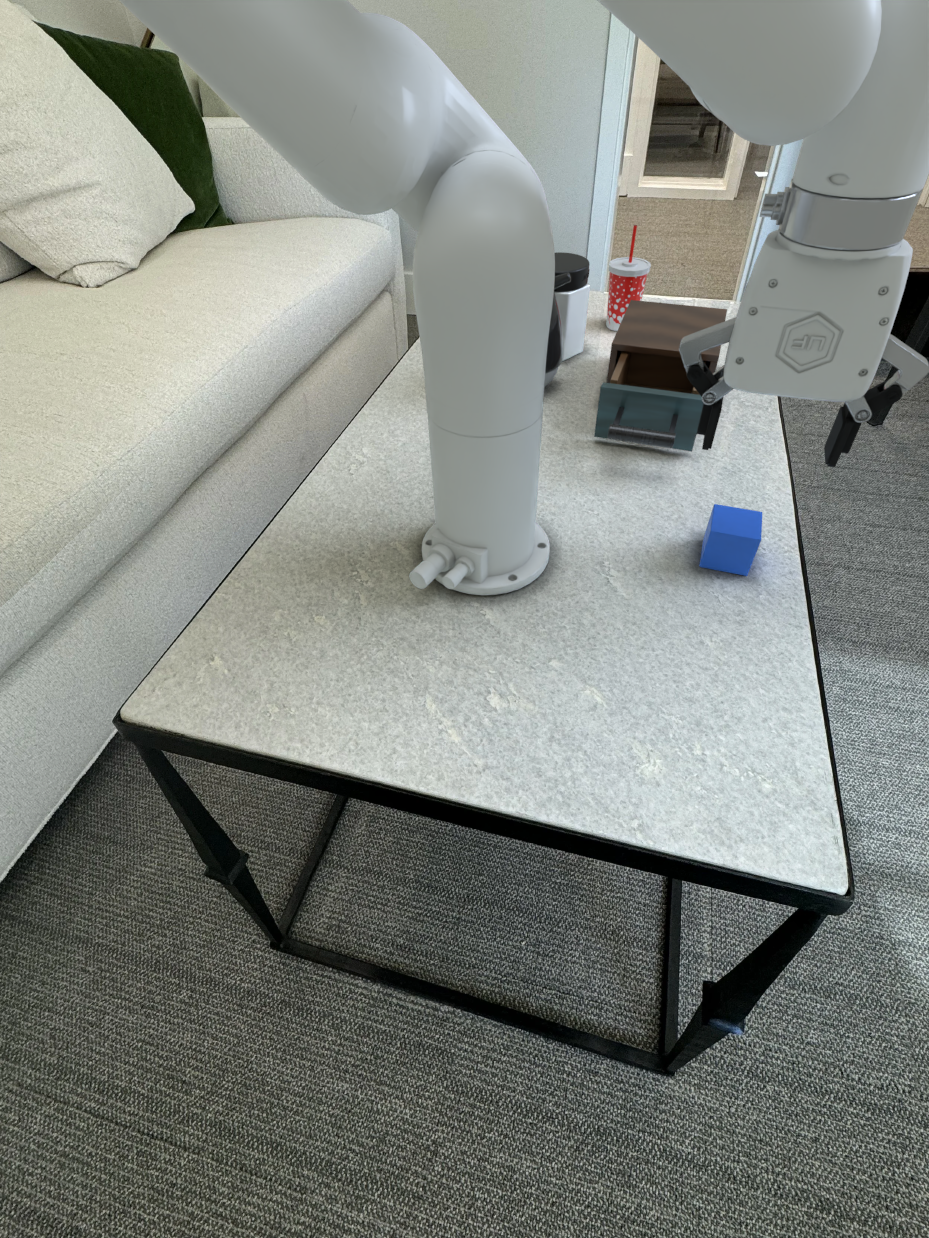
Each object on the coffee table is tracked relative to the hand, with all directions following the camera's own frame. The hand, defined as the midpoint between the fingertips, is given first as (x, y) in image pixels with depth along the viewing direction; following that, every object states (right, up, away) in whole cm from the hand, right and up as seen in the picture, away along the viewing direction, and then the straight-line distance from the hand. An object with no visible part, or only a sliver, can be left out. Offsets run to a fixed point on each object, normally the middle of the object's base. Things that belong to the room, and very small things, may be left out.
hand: (766, 449), depth 54 cm
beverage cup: (-1, +32, +48) cm, 57 cm away
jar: (-12, +26, +42) cm, 51 cm away
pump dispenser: (-17, +18, +35) cm, 43 cm away
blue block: (0, -8, +9) cm, 12 cm away
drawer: (-3, +9, +24) cm, 26 cm away
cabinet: (+1, +17, +33) cm, 37 cm away
